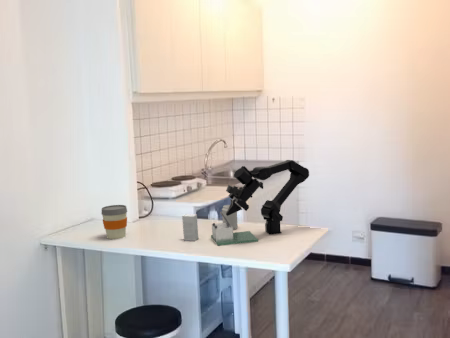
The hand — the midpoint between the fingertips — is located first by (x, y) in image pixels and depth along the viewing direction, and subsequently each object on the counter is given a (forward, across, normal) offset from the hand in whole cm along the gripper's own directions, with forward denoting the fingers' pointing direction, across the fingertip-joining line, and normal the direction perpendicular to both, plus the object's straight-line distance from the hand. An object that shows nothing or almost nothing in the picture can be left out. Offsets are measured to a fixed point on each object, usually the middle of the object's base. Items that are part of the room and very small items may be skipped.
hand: (226, 215), depth 242 cm
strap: (+2, 0, 0) cm, 2 cm away
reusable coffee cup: (+45, -27, -28) cm, 59 cm away
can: (+5, -20, +12) cm, 24 cm away
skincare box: (+20, -7, -3) cm, 22 cm away
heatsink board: (+6, 0, +11) cm, 12 cm away
